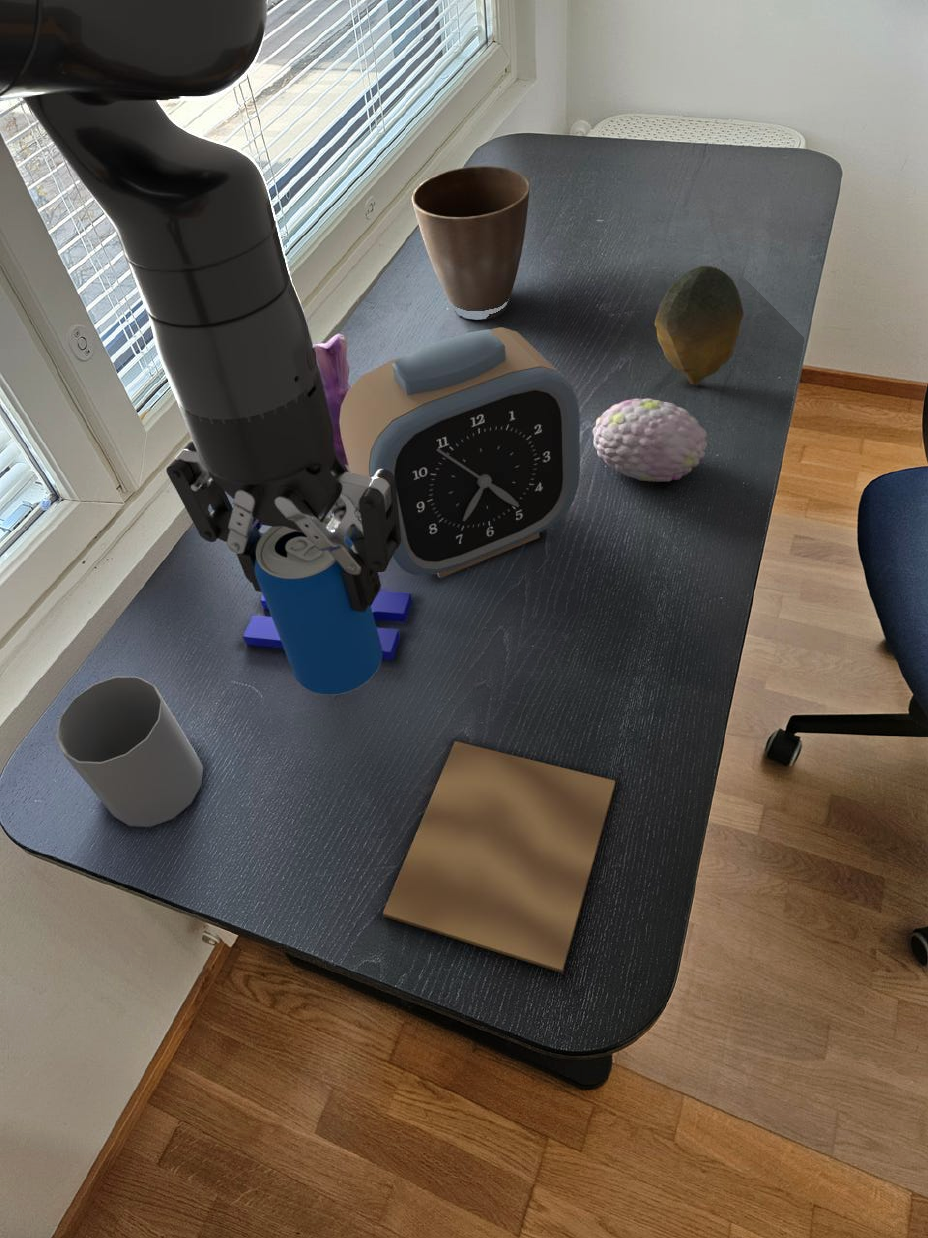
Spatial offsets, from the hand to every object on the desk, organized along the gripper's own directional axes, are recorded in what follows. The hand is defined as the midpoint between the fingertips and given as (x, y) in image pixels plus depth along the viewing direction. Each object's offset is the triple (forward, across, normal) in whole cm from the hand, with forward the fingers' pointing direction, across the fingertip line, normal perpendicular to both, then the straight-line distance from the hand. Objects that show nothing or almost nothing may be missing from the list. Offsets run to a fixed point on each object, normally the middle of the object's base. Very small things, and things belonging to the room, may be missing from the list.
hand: (316, 592), depth 58 cm
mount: (+23, -11, +15) cm, 30 cm away
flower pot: (+22, -15, +74) cm, 79 cm away
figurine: (+23, -21, +40) cm, 51 cm away
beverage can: (+8, 0, 0) cm, 8 cm away
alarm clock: (+23, -1, +30) cm, 38 cm away
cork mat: (+23, +12, -3) cm, 26 cm away
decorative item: (+23, +14, +45) cm, 52 cm away
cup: (+23, -19, -6) cm, 31 cm away
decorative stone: (+23, +16, +61) cm, 67 cm away
